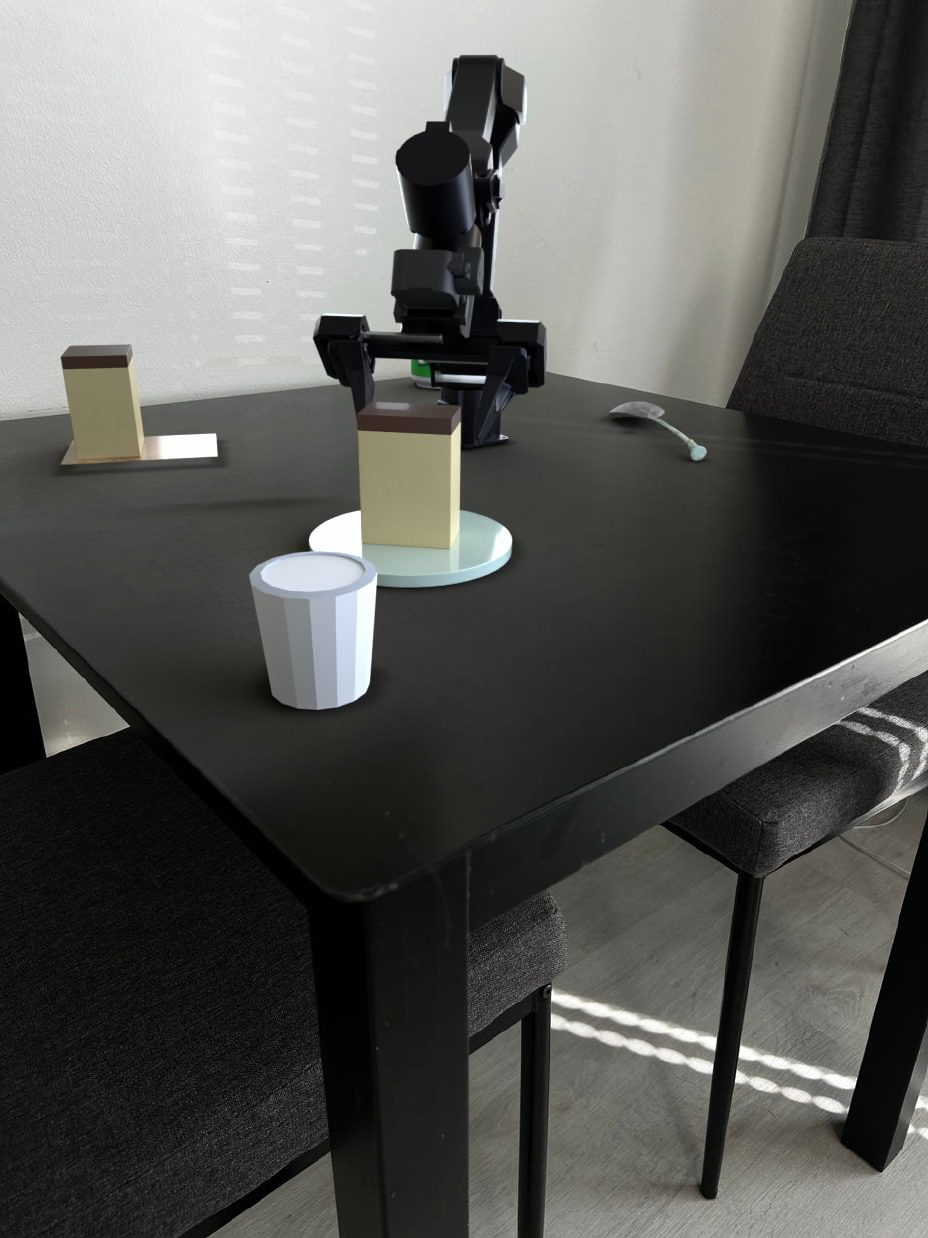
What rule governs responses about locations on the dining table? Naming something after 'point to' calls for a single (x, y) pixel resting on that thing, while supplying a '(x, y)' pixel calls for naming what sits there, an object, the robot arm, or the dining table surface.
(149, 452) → the cake board
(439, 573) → the plate
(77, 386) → the cake loaf
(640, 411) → the soupspoon
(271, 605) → the shot glass
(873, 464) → the dining table surface
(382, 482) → the cake slice
